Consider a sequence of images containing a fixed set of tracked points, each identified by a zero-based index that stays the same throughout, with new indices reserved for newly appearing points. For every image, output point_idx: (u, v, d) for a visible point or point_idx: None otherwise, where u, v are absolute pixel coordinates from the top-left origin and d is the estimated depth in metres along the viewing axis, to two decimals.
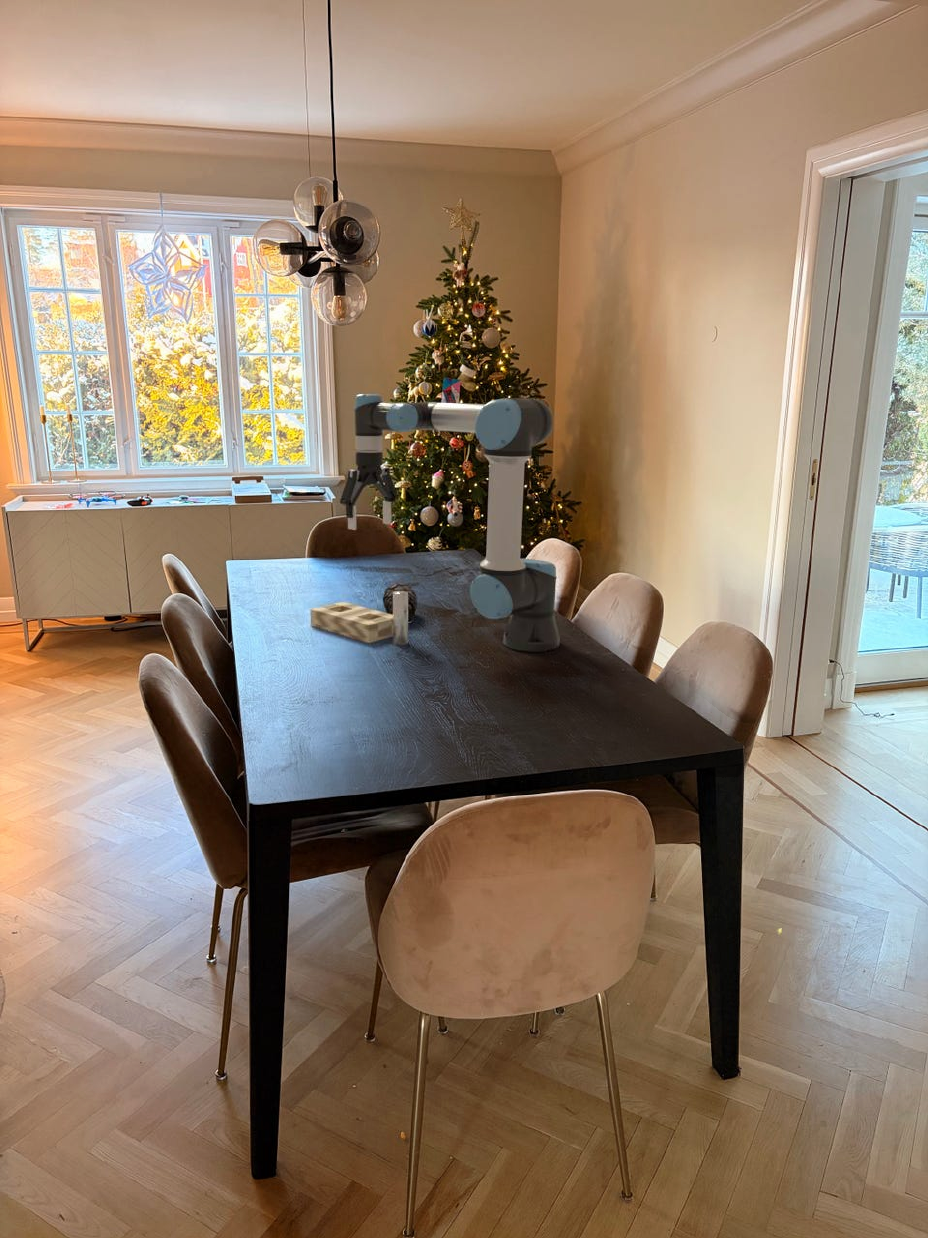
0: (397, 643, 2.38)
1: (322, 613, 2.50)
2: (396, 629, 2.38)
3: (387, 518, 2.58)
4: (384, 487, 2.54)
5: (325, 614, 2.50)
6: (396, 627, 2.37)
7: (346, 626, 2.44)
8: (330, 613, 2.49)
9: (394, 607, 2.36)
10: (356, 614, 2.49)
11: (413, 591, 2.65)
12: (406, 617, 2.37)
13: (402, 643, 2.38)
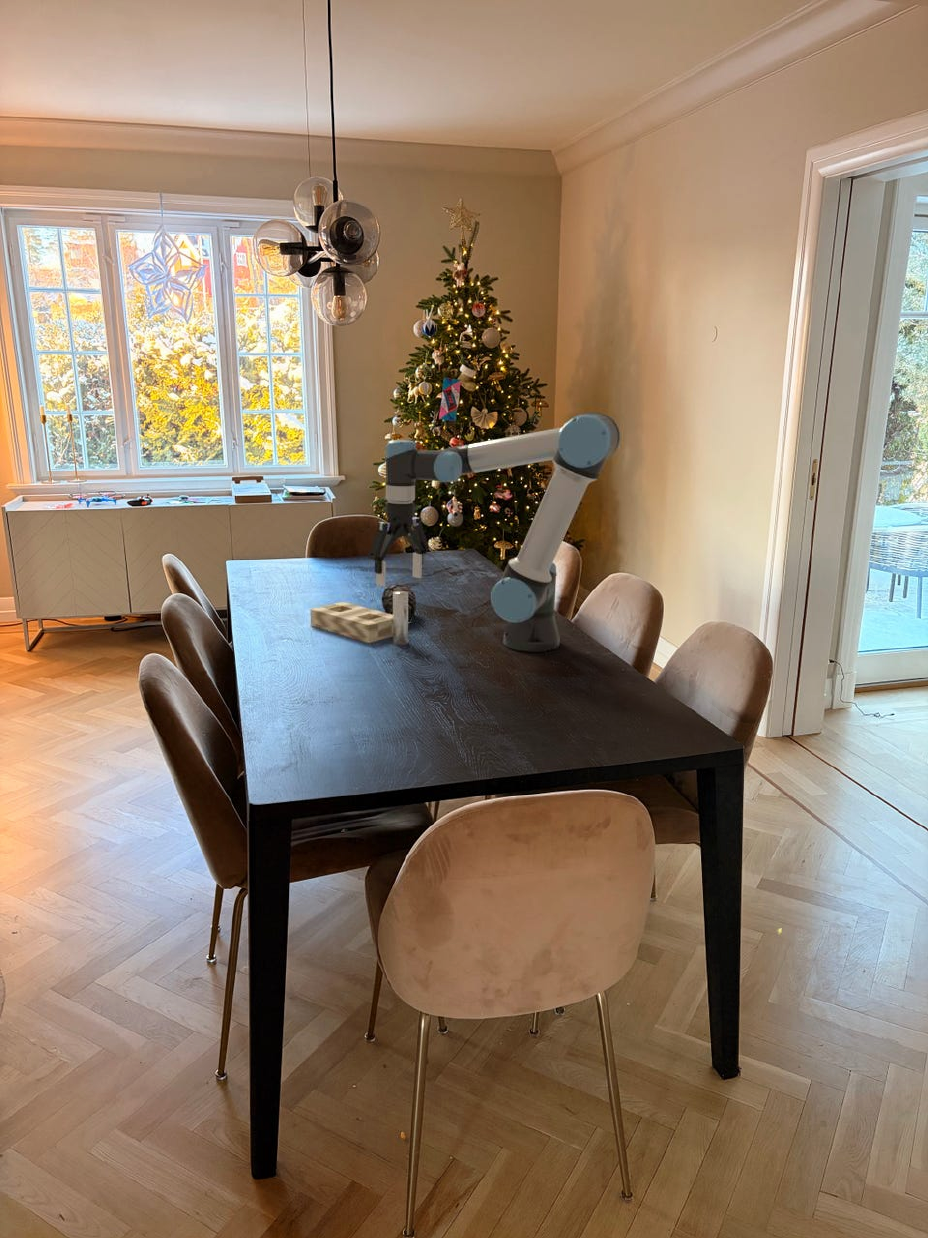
0: (397, 643, 2.38)
1: (322, 613, 2.50)
2: (396, 629, 2.38)
3: (418, 572, 2.40)
4: (415, 539, 2.36)
5: (325, 614, 2.50)
6: (397, 627, 2.37)
7: (346, 626, 2.44)
8: (330, 613, 2.49)
9: (394, 607, 2.36)
10: (356, 614, 2.49)
11: (412, 591, 2.65)
12: (406, 617, 2.37)
13: (402, 643, 2.38)
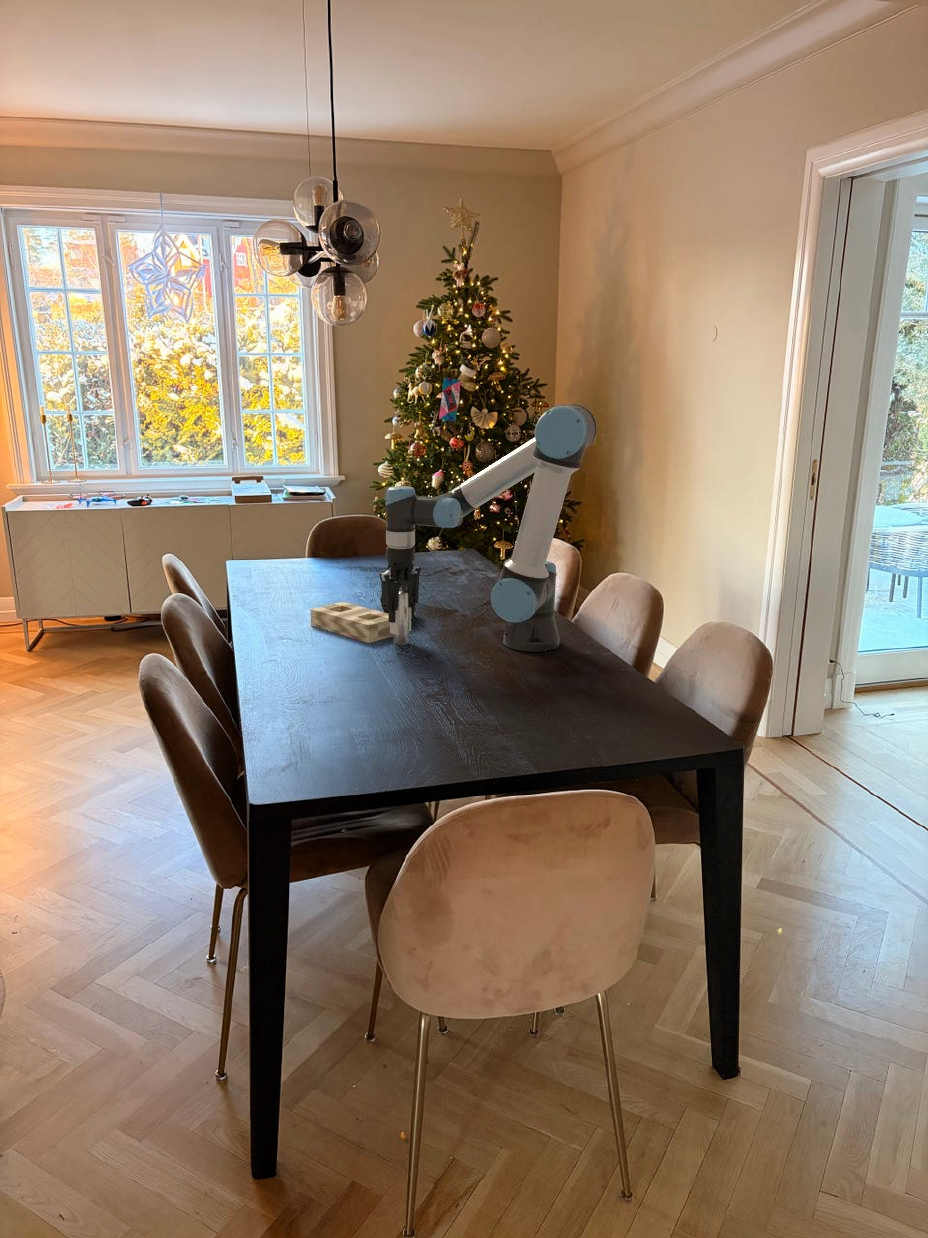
0: (397, 643, 2.38)
1: (322, 613, 2.50)
2: None
3: None
4: (409, 588, 2.37)
5: (325, 614, 2.50)
6: None
7: (346, 626, 2.44)
8: (330, 613, 2.49)
9: None
10: (356, 614, 2.49)
11: None
12: (406, 617, 2.37)
13: (402, 643, 2.38)
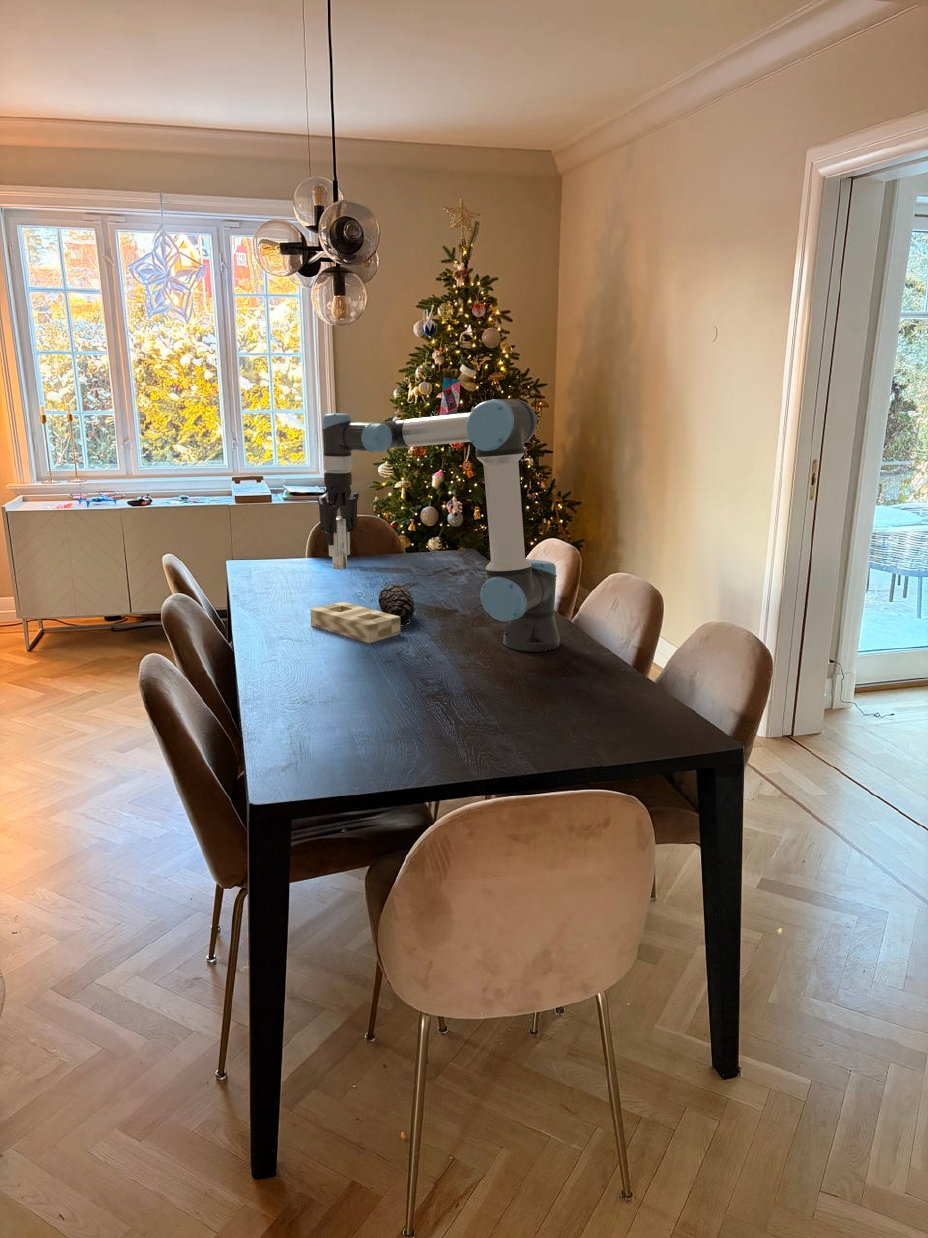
0: (336, 567, 2.49)
1: (322, 613, 2.50)
2: None
3: None
4: (347, 513, 2.48)
5: (325, 614, 2.50)
6: None
7: (346, 626, 2.44)
8: (330, 613, 2.49)
9: None
10: (356, 614, 2.49)
11: (409, 592, 2.64)
12: (344, 542, 2.48)
13: (341, 567, 2.49)
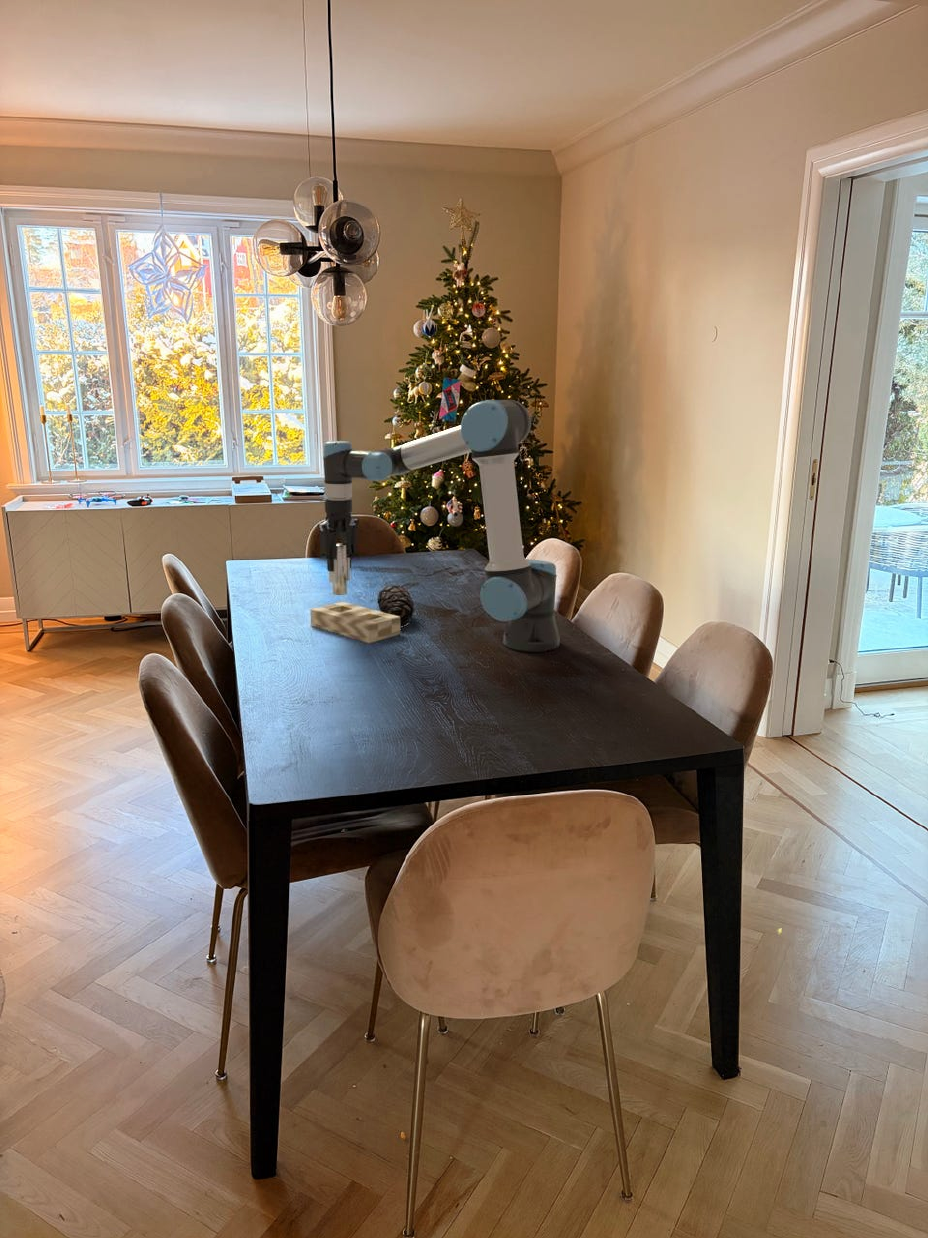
0: (336, 593, 2.51)
1: (322, 613, 2.50)
2: None
3: None
4: (348, 539, 2.50)
5: (325, 614, 2.50)
6: None
7: (346, 626, 2.44)
8: (330, 613, 2.49)
9: None
10: (356, 614, 2.49)
11: (408, 592, 2.64)
12: (344, 568, 2.50)
13: (341, 593, 2.51)
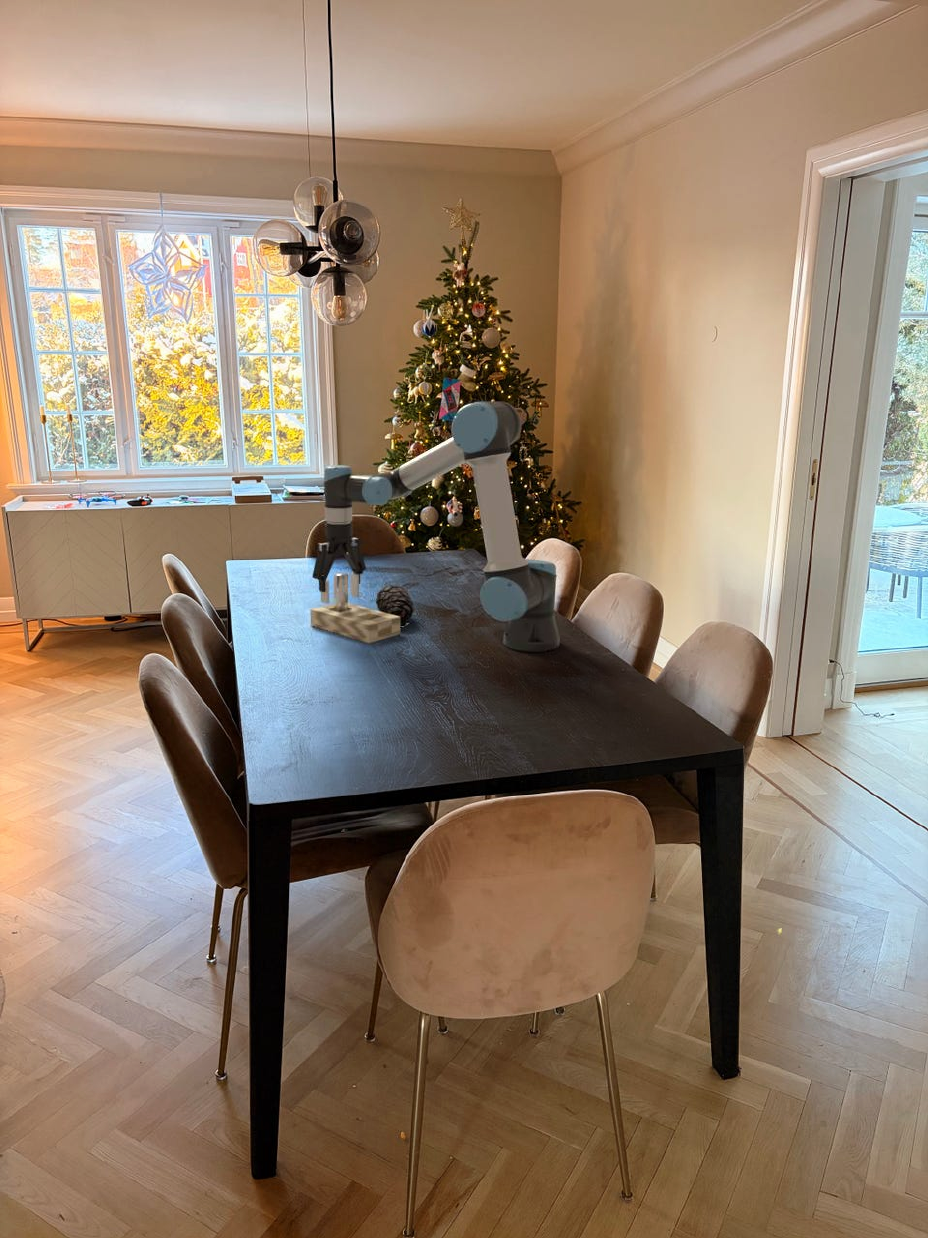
0: None
1: (322, 613, 2.50)
2: (337, 609, 2.52)
3: (355, 591, 2.56)
4: (353, 559, 2.53)
5: (325, 614, 2.50)
6: (337, 607, 2.52)
7: (346, 626, 2.44)
8: (330, 613, 2.49)
9: (334, 588, 2.51)
10: (356, 614, 2.49)
11: (407, 593, 2.63)
12: (346, 598, 2.52)
13: None
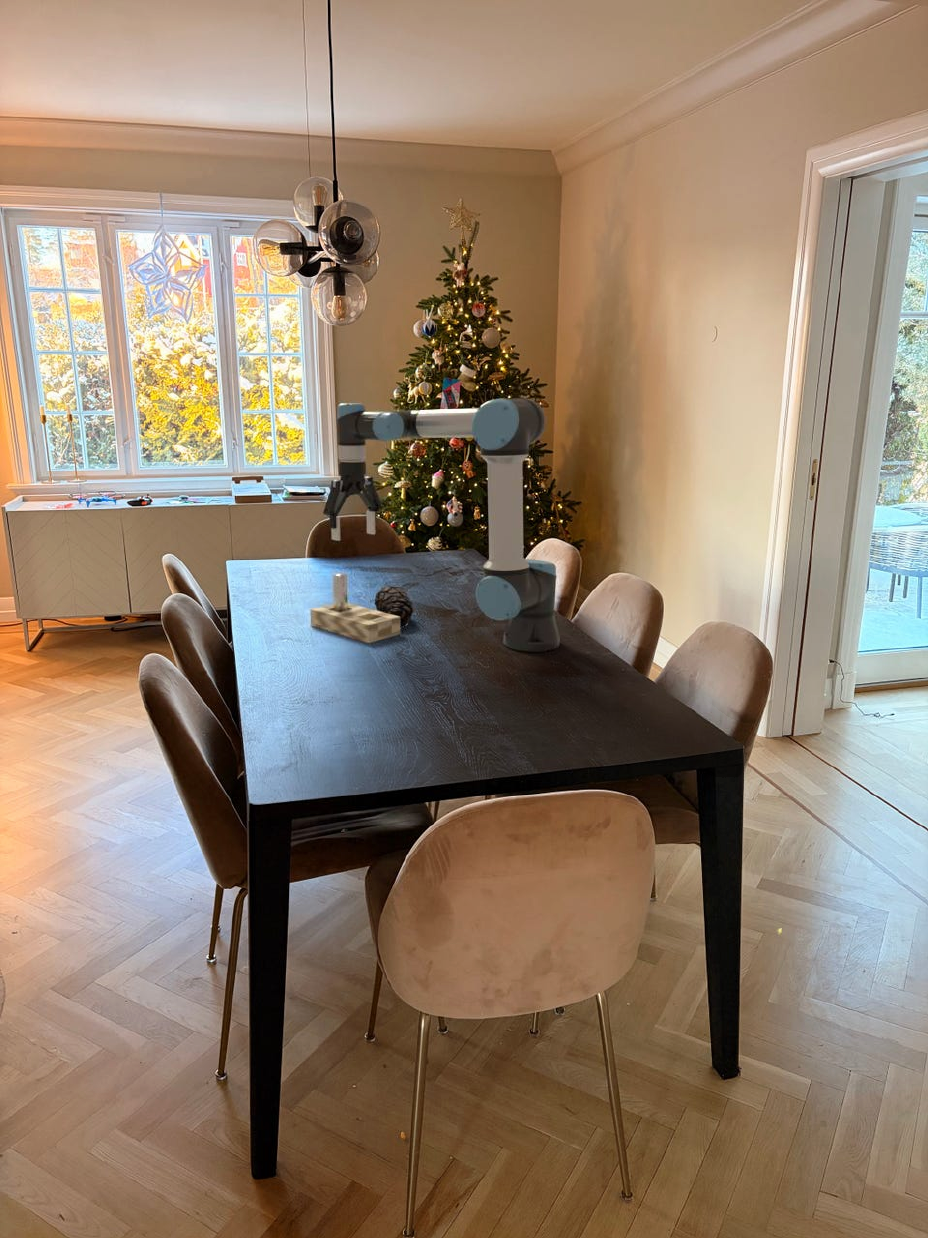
0: None
1: (322, 613, 2.50)
2: (336, 609, 2.52)
3: (371, 529, 2.55)
4: (368, 497, 2.51)
5: (325, 614, 2.50)
6: (336, 607, 2.52)
7: (346, 626, 2.44)
8: (330, 613, 2.49)
9: (334, 588, 2.51)
10: (356, 614, 2.49)
11: (406, 593, 2.63)
12: (345, 598, 2.52)
13: None
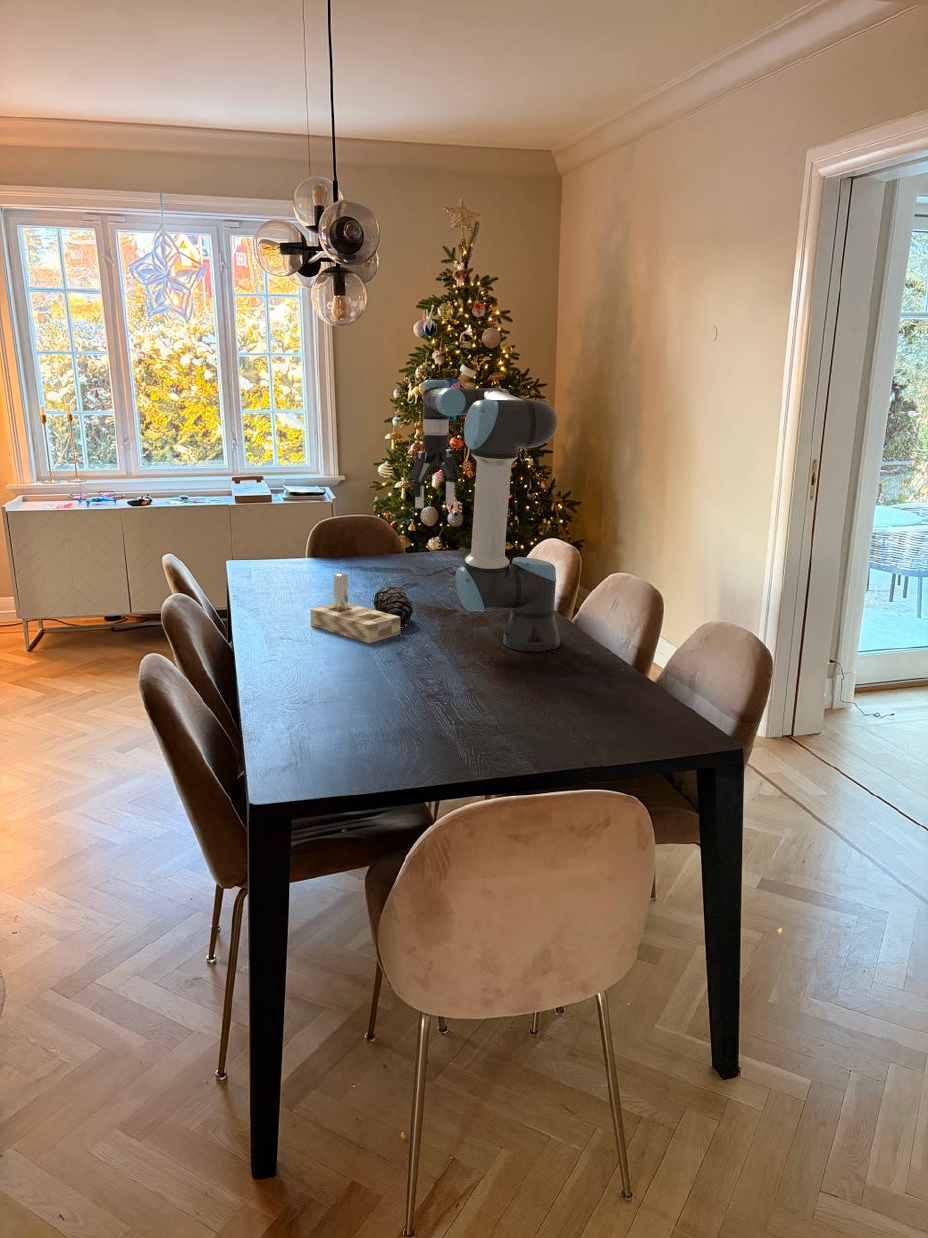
0: None
1: (322, 613, 2.50)
2: (337, 609, 2.52)
3: (451, 498, 2.73)
4: (448, 468, 2.69)
5: (325, 614, 2.50)
6: (337, 607, 2.52)
7: (346, 626, 2.44)
8: (330, 613, 2.49)
9: (334, 588, 2.51)
10: (356, 614, 2.49)
11: None
12: (346, 598, 2.52)
13: None
